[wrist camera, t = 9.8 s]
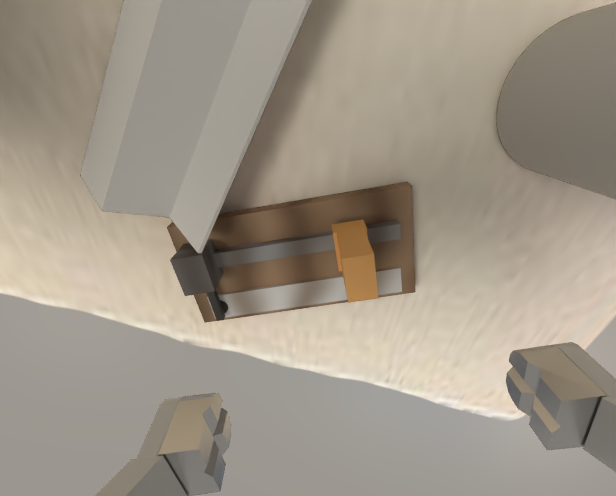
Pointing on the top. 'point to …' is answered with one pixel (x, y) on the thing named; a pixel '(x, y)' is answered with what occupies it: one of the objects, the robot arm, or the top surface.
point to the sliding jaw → (355, 260)
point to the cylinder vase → (565, 103)
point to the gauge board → (295, 253)
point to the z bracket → (184, 104)
